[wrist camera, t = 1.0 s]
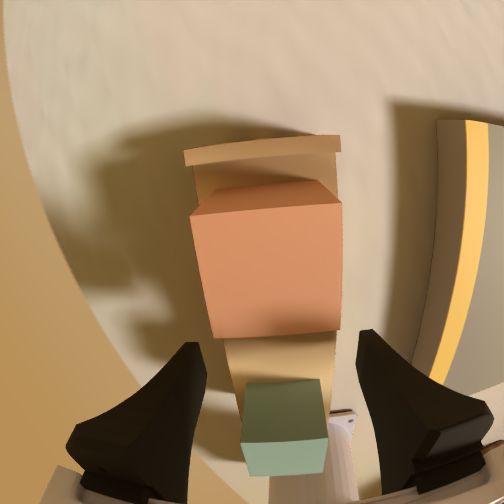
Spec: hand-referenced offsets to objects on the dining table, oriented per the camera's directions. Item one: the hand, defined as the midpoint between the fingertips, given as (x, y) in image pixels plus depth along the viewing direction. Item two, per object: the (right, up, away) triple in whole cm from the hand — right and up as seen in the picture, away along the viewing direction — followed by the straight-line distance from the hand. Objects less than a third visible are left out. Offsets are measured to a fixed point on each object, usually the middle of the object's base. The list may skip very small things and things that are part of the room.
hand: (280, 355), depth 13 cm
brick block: (0, +5, -1) cm, 5 cm away
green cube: (+1, -4, +3) cm, 5 cm away
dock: (+16, +3, +4) cm, 17 cm away
